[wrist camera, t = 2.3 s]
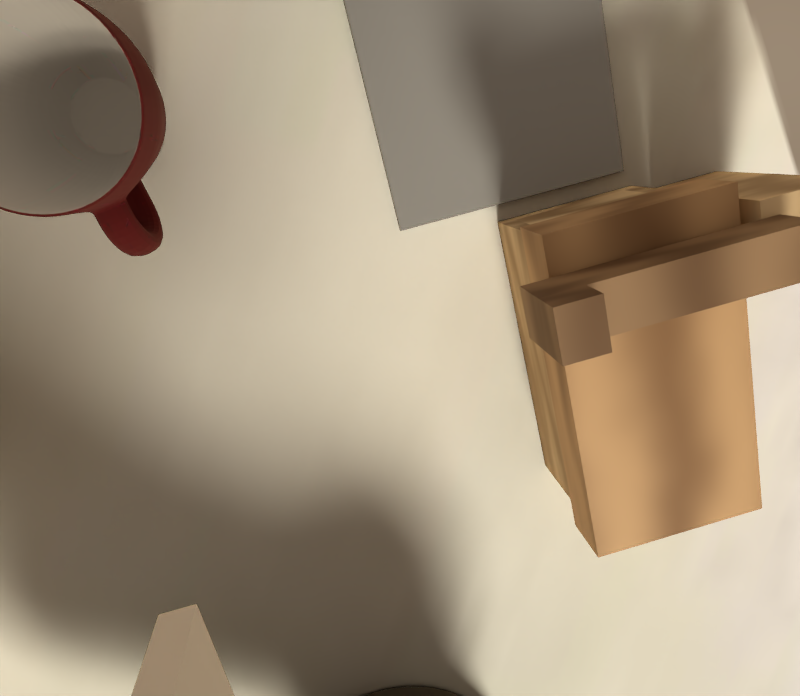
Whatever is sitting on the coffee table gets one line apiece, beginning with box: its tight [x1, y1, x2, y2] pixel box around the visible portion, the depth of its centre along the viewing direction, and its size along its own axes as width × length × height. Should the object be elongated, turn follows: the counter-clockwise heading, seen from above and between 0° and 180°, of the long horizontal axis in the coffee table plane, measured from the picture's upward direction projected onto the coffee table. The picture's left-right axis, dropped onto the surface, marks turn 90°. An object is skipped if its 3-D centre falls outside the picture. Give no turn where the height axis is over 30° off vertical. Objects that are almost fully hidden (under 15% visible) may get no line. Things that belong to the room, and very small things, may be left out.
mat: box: [343, 0, 624, 231], centre depth 33 cm, size 13×20×1 cm, turn 14°
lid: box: [520, 179, 762, 557], centre depth 32 cm, size 9×17×3 cm, turn 14°
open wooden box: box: [498, 171, 800, 499], centre depth 33 cm, size 13×16×12 cm
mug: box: [0, 0, 166, 256], centre depth 28 cm, size 11×8×10 cm
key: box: [520, 214, 800, 366], centre depth 26 cm, size 12×2×4 cm, turn 104°
